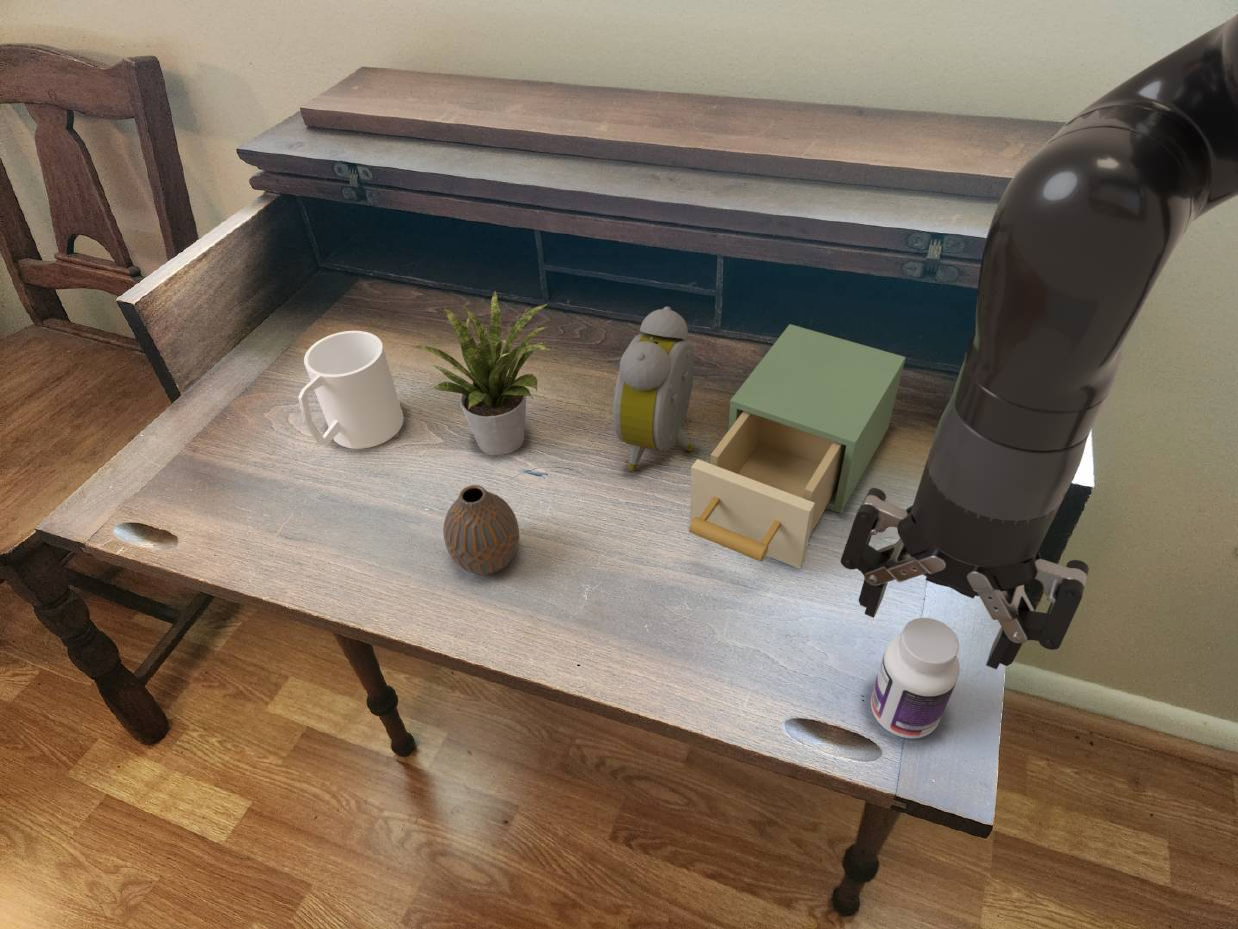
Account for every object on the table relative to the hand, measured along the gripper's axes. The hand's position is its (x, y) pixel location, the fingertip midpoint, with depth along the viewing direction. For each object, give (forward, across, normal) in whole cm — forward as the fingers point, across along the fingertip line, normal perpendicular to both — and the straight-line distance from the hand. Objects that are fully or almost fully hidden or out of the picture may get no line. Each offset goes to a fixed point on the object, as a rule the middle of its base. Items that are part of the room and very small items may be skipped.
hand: (932, 632), depth 59 cm
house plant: (+11, -47, +12) cm, 50 cm away
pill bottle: (+11, 0, 0) cm, 11 cm away
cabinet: (+11, -18, +25) cm, 33 cm away
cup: (+12, -63, +4) cm, 64 cm away
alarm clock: (+11, -32, +18) cm, 39 cm away
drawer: (+10, -18, +13) cm, 25 cm away
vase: (+11, -39, -3) cm, 41 cm away
